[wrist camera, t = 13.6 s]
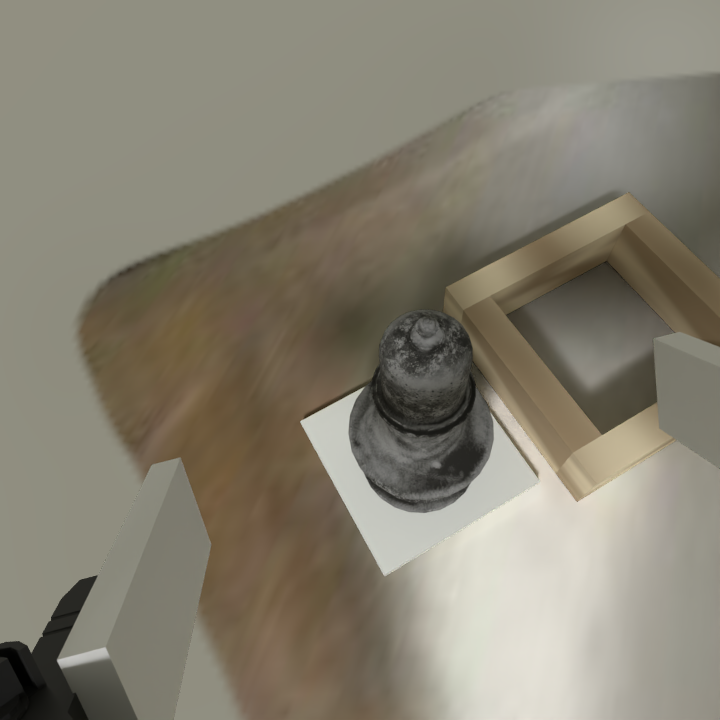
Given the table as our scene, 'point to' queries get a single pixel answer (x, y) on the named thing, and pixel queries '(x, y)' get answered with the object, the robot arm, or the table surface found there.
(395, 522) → the white mat
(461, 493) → the dark chess piece
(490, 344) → the wooden square frame
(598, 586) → the table surface
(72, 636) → the robot arm
